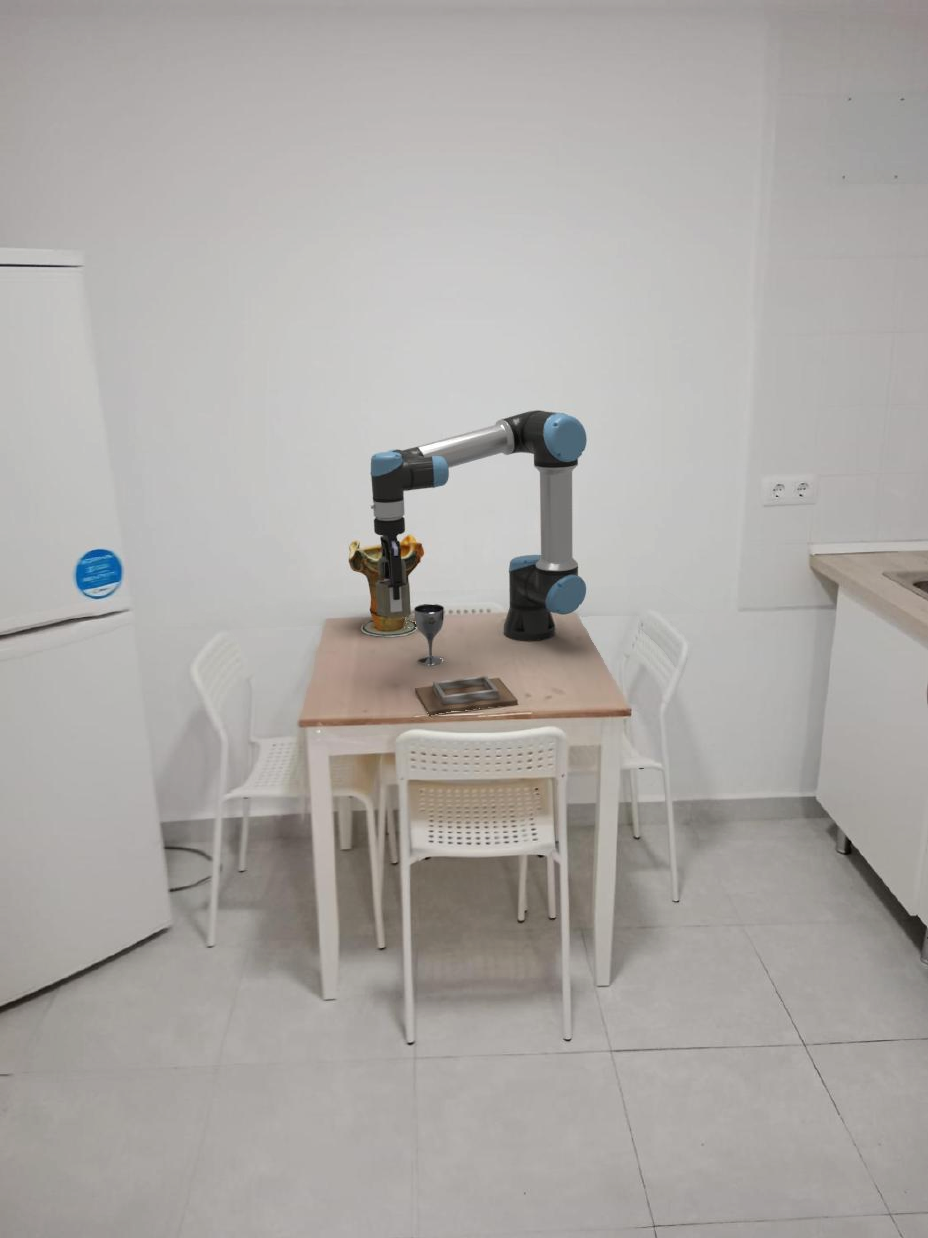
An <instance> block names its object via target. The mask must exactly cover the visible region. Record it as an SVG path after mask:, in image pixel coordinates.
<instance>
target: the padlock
mask: <svg viewBox="0 0 928 1238" xmlns="http://www.w3.org/2000/svg"><path fill="white" fill-rule="evenodd" d="M383 562H388V560H387V559H386V557H385V556H384V557H381V558H380V559H379V560H378V574H379V577H380V579H382V578H383V574H384V568H383ZM401 567H402V582H403V586H401V599H402V611H399V612H391V606H390V588H388V585H390V581H378V582H377V583H376V600H377V614H378V615H382V616H389V617H405V618H408V617H410V616H411V614H412V610H411V590H410V582H409V583H407V582H406V564H405V561H404V560H403V559H402V558H401Z"/></svg>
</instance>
